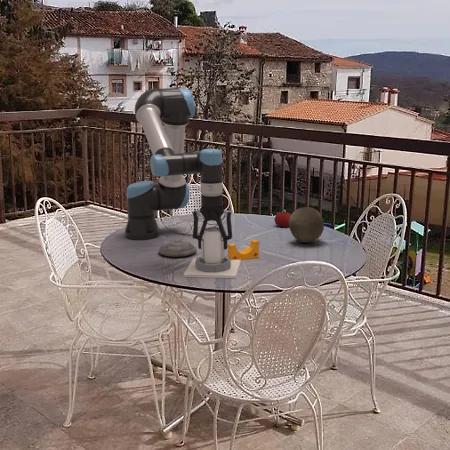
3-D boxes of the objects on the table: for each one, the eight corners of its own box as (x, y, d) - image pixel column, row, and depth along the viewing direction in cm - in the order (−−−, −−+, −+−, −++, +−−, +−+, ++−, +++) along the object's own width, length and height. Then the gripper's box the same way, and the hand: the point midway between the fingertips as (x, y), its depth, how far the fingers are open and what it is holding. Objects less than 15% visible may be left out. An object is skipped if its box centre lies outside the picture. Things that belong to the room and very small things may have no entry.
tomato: (271, 226, 268) (271, 211, 267) (280, 223, 275) (280, 208, 273) (287, 229, 264) (287, 213, 262) (295, 225, 270) (295, 210, 269)
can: (220, 264, 205) (219, 231, 203) (202, 264, 207) (201, 231, 204) (223, 259, 212) (223, 227, 209) (206, 258, 213) (205, 226, 210)
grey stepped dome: (161, 261, 221) (161, 247, 220) (155, 250, 236) (155, 237, 234) (200, 257, 225) (200, 243, 224) (192, 247, 239) (192, 234, 238)
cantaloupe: (290, 238, 249) (290, 203, 246) (324, 239, 246) (325, 204, 243) (287, 247, 236) (287, 210, 232) (322, 248, 233) (323, 211, 229)
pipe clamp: (253, 254, 227) (253, 238, 226) (258, 257, 223) (258, 241, 222) (225, 259, 222) (225, 243, 220) (231, 262, 218) (231, 245, 216)
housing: (183, 277, 202) (183, 267, 202) (193, 261, 220) (192, 252, 219) (235, 278, 200) (235, 268, 199) (241, 262, 217) (240, 253, 217)
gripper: (182, 196, 201) (184, 260, 207) (238, 196, 198) (239, 261, 204) (186, 191, 208) (188, 254, 214) (240, 192, 206) (241, 255, 211)
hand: (213, 257), depth 209 cm, fingers closed on can, 6 cm apart
